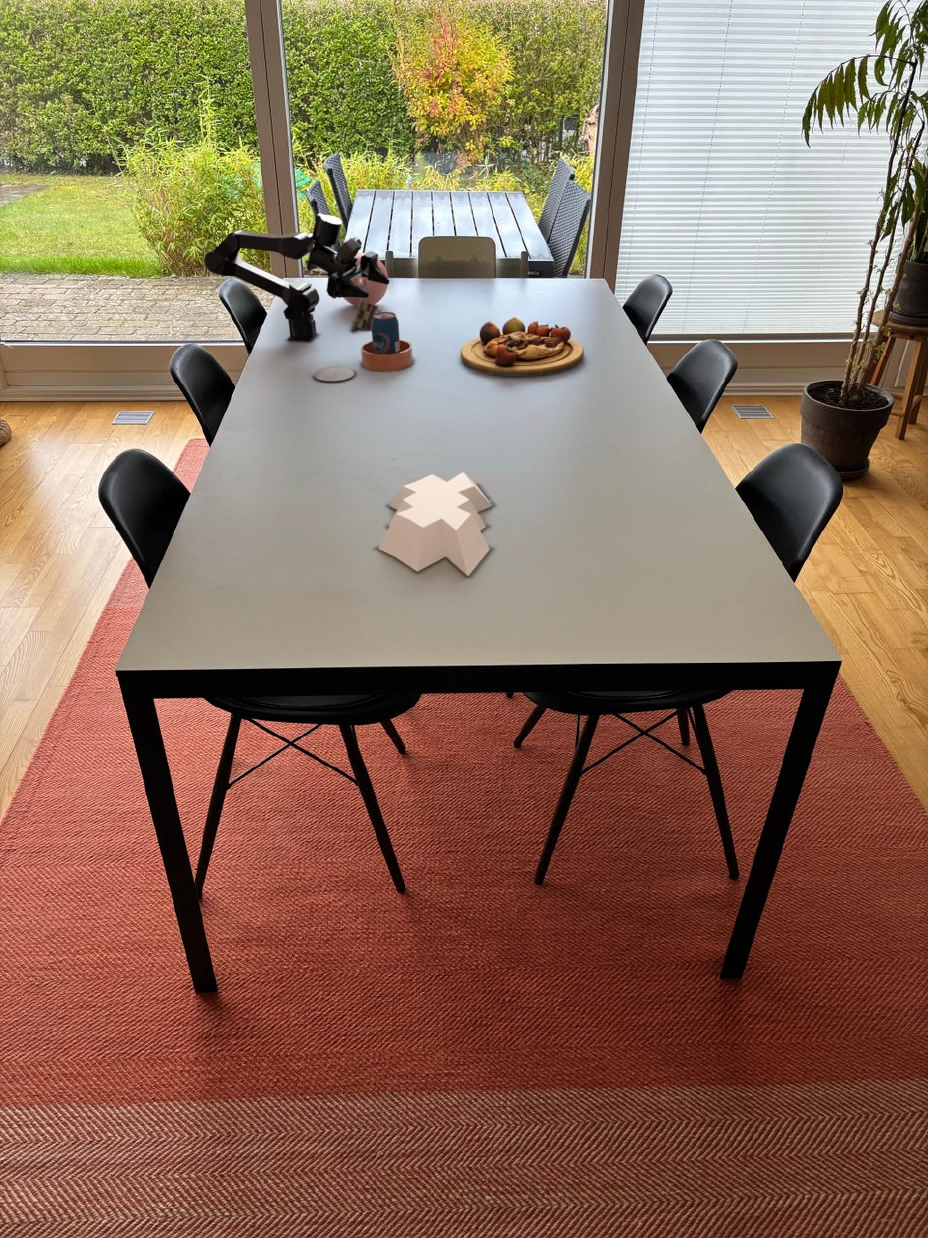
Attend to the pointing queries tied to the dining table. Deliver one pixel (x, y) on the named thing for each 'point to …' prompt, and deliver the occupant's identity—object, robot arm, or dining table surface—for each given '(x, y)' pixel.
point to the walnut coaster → (334, 375)
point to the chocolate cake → (365, 315)
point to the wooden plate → (522, 349)
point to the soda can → (385, 333)
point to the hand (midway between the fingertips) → (378, 289)
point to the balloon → (368, 286)
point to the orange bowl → (387, 358)
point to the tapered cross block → (438, 523)
